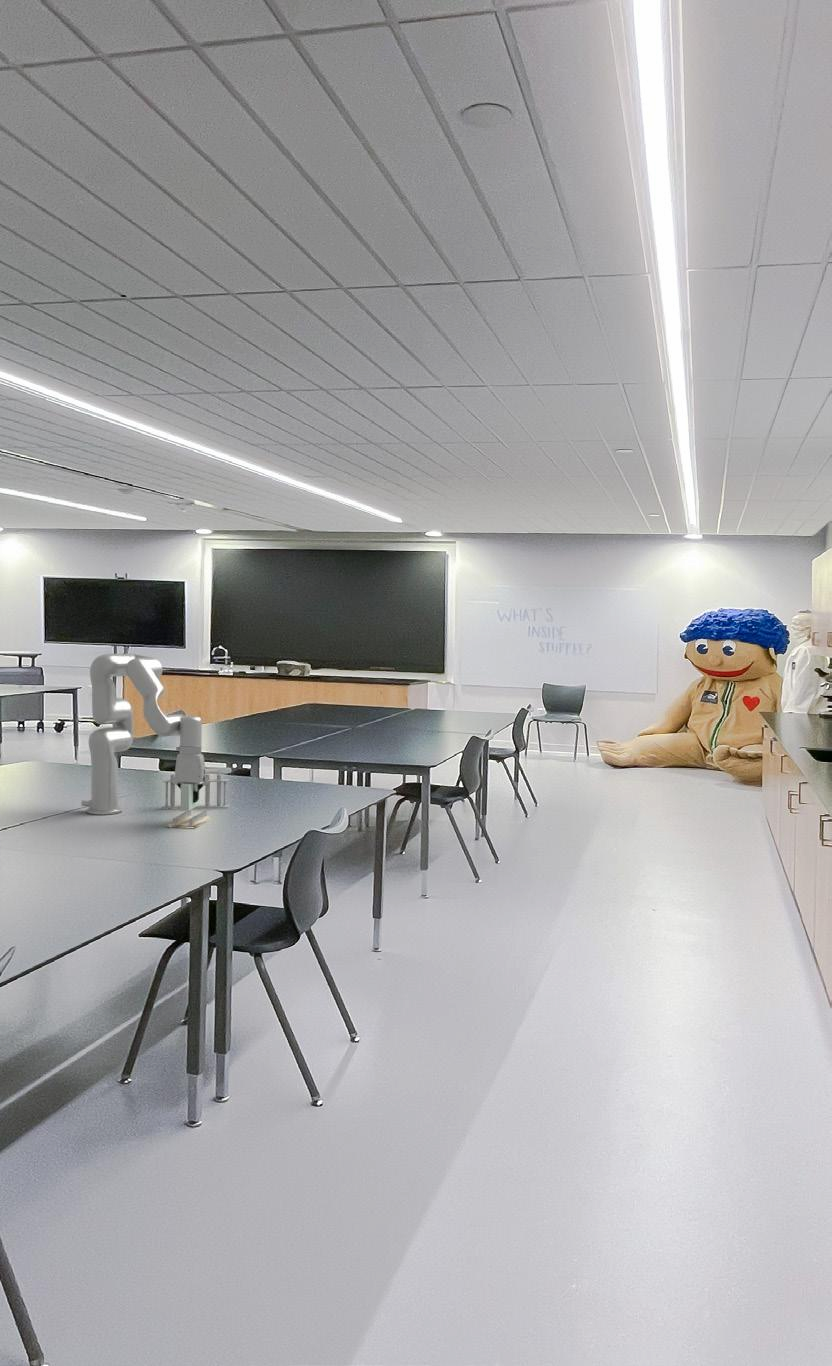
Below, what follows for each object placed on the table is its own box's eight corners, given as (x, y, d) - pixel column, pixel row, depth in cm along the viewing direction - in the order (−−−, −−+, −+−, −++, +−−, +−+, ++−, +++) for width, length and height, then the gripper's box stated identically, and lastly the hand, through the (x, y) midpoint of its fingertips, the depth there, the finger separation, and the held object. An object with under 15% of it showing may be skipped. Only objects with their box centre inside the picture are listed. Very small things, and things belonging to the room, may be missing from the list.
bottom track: (167, 827, 347) (167, 819, 347) (185, 817, 365) (185, 809, 365) (195, 828, 346) (195, 820, 346) (211, 819, 364) (211, 810, 364)
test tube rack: (228, 806, 390) (228, 773, 389) (228, 808, 386) (228, 775, 385) (163, 807, 386) (163, 773, 385) (162, 809, 382) (162, 775, 381)
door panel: (180, 810, 349) (180, 784, 349) (191, 804, 361) (191, 779, 361) (188, 810, 349) (188, 785, 348) (199, 804, 361) (199, 780, 360)
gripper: (164, 751, 351) (164, 802, 352) (209, 752, 349) (209, 804, 350) (172, 748, 358) (172, 799, 359) (216, 750, 357) (215, 800, 358)
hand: (190, 801), depth 355 cm, fingers closed on door panel, 3 cm apart
